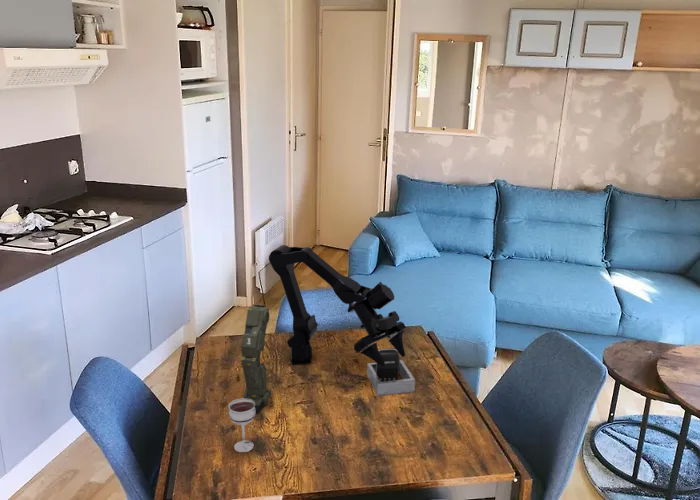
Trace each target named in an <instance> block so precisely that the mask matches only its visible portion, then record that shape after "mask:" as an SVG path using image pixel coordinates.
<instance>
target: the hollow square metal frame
mask: <svg viewBox="0 0 700 500" xmlns="http://www.w3.org/2000/svg"><path fill="white" fill-rule="evenodd" d="M366 364H367V365H366V376H367V377H368V379H369V381H370V383H371V385H372V387H373V390H374V391H375V393H376V395H377V396H389V395H396V394H406V393H413V392H415V391H416V389H415V388H416V387H415V386H416V379H415V377H414V376H413V374H412V373H411V371H410V370H409V369H408V367H407V365H406V364H405V363H404V360H402V359H399V369H398V374H400V376H401V378H402V379H398V380H393V381H384V382H380V380H379V378H378V376H377V374H376V362H368V363H366Z"/></svg>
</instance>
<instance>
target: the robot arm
mask: <svg viewBox="0 0 700 500" xmlns="http://www.w3.org/2000/svg"><path fill="white" fill-rule="evenodd" d="M268 261H269V262H268V263H269V264H270V265H271V268H272V269H273V271H274V272H275V274H277V275H278V276H279V278H280V282H281V284H282V286H283V290H284V293H285V296H286V298H287V303H288V306H289V309H290V311H291V314H292V318H293V319H292V333H293V334H292V335H291V336H290V337H289V339H287V341H286V343H287V346H288V347H289V349H290V354H289V359H290V362H291V365H301V364H311V363H312V358H313V347H312V344H311V342H310V340H311V339H312V338H313V337H314V336H315V335H316V333H317V332H318V326H319V324H318V322H317V321H316V315H315V314H312V315H310V313H309V312H308V311H307V308H306V305H305V303H304V299H303V296H302V293H301V289H300V287H299V286H300V285H299V283H298V281H297V280H298V279H297V277H296V274H295V264H297V263H303V264H305V266H307V268H309V269H310V270H312V272H314V273H315V274H316V275H317V276H318V277H320V278H321V279H322V280H323V281H324V282H326V283H327V284H328V285H329V286H330V287H331V289H332V290H333V293H334V294H335V295H336V296H337V298H339V299H340V300H339V301H341V302H342V303H343V304H346V305H348V307H347V311H346V312H347V313H352V312H355V314H356V316H357V318H358V319H359V321H360V323H361V325H360V329H362V330H365V332H366V333H367V335H366V336H363V337H361V338H360V339H358V340H357V341H356V342H355V343H354V344H353V349H354V351H355V353H356V354H359V353H360V355H364V356H366V357H368V358H369V359H371V360H372V361H374V363H376V362H377V363H378V364H379V365H381V366H382V367H384V366H385V363H384V361H383V359H382V357H381V355H380V353H379V351H378V350H379V349H378V341H380V340H383V339H384V338H385V339H386V338H388V342H389V343H390V344H391V345H392V347H393V349H396V350H397V351H398V352H399V356H401V357H402V358H403V357H406V353H405V347H404V341H403V335H404V333H405V332H406V331H405V329H407V327H406V325H405V323H404V322H403V321H400V316H399V314H398V313H397V312H396V311H395V310H394V311H391V312H389V313H388V315H387V316H383V314H381V313H378V312H377V311H376V310H381V309H383V308H384V307H385V306H387V305H389V304H390V303H391V302H392V301H393V300H395V294H394V292H393V290H392V289H391V288H390V287H388V285H386V284H384V283H382V282H381V281H379V282H378V283H377V284H376V285H375V286H374V287H372V288H370V287H368V286H364V285H362V284H360V283H359V282H358V281H356V280H354V279H353V278H351V277H348V276H346V275H343V274H341V273H340V272H338V270H336V269H335V268H334V267H332V266H331V264H329V263H328V262H326V260H324V259H323V258H322V257H320V256H319V255H318V254H317V253H316V252H315V251H314V250H313V249H312V248H311V247H309V246H307V247H303V246H302V247H301V246H288V245H285V244H284V245H283V244H282V245H279V246H278V247H277V248H275V249H273V250H272V251H270V253H269V255H268Z"/></svg>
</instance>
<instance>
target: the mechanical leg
mask: <svg viewBox="0 0 700 500" xmlns="http://www.w3.org/2000/svg"><path fill="white" fill-rule="evenodd" d="M269 322H270V308H269V307H267V306H266V307H265V304H264V305H263V304H254V305H253V306H252V305H249V306H248V308H247V311H246V318H245V326H244V333H243V334H242V338H241V346H240V347H241V349H240V350H241V359H240V361H241V365H242V371H243V376H244V380H245V381H244V382H245V390H244V392H243V395H242V398H247V399H251V400H253V401H254V402H255V406H254V407H255V409H256V415H257V414H259V413H261V411H262V410H263V408H265V406H268V404H269V399H270V397H271V396H272V389H270V388H269V389H268V387H267V384H266V382H267V368H266V366H265V363H264V362H261V359H260V358H261V353H262V351H264V346H265V339H266V331H267V327H268V324H269Z"/></svg>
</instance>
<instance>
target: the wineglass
mask: <svg viewBox="0 0 700 500" xmlns="http://www.w3.org/2000/svg"><path fill="white" fill-rule="evenodd" d="M254 406H255V402H254V401H253V400H251V399H247V398H243V397H242V398H237V399H234V400H232V401H230V403H229V404H228V409H229V410H228V417H229V420H230V421H231V422H232V423H233V424H235V425H236V426H237V425H238V426H241V434H242V435H241V437H242V440H240V441H238V442H236V443H235V444H234V446H233V448H234V450H235V451H236V452H239V453H247V452H249V451H251V450H253V449H254V442H253V441H250V440H246V439H245V438H246V437H245V436H246V435H245V433H246V432H245V431H246V430H245V426H246V425H249V424H250V423H251V422H252V421H253V420H254V419H255V417H256V415H257V413H256V409H255V407H254Z"/></svg>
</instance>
